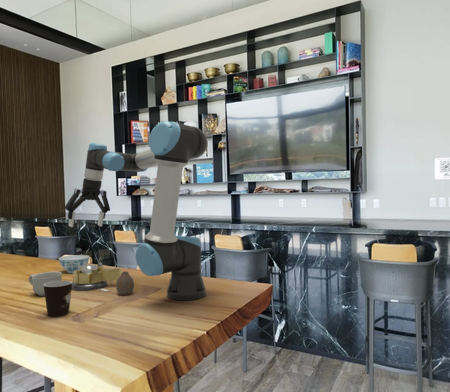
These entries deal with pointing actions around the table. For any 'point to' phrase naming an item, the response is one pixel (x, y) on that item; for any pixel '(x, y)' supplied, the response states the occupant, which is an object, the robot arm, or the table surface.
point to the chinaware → (73, 262)
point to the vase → (125, 284)
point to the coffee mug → (58, 297)
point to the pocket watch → (99, 264)
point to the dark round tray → (92, 285)
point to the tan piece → (96, 275)
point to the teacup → (43, 281)
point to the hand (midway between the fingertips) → (85, 226)
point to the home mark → (104, 290)
